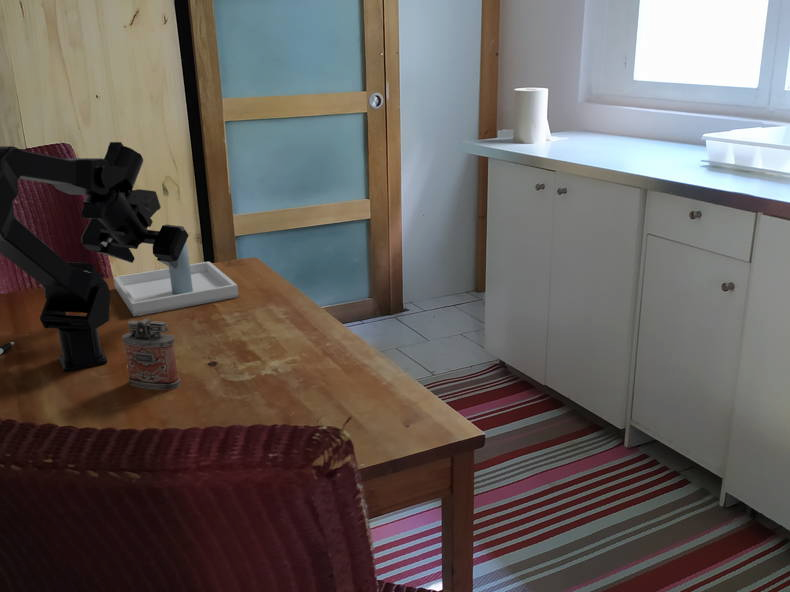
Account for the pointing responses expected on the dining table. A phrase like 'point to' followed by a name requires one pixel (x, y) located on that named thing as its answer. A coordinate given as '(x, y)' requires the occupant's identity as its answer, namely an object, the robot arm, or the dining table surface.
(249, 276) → the dining table surface
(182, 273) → the dowel
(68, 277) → the robot arm
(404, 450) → the dining table surface
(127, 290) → the tray
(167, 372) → the lighter
